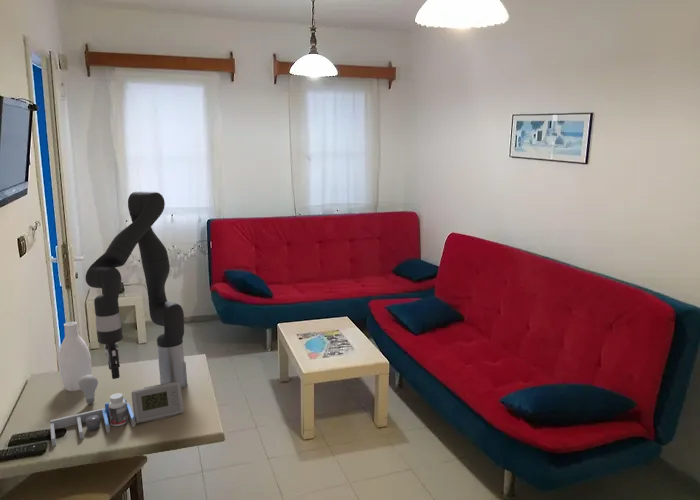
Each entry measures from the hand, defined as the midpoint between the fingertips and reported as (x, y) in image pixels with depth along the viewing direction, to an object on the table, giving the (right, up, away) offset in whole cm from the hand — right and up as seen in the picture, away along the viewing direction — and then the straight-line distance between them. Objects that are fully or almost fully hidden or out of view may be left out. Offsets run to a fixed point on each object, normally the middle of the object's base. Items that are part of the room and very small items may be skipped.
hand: (114, 373), depth 180 cm
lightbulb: (-16, -15, +16) cm, 27 cm away
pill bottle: (0, -18, +4) cm, 18 cm away
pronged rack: (-7, -18, 0) cm, 19 cm away
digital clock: (+12, -17, +8) cm, 22 cm away
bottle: (-27, -12, +30) cm, 42 cm away
